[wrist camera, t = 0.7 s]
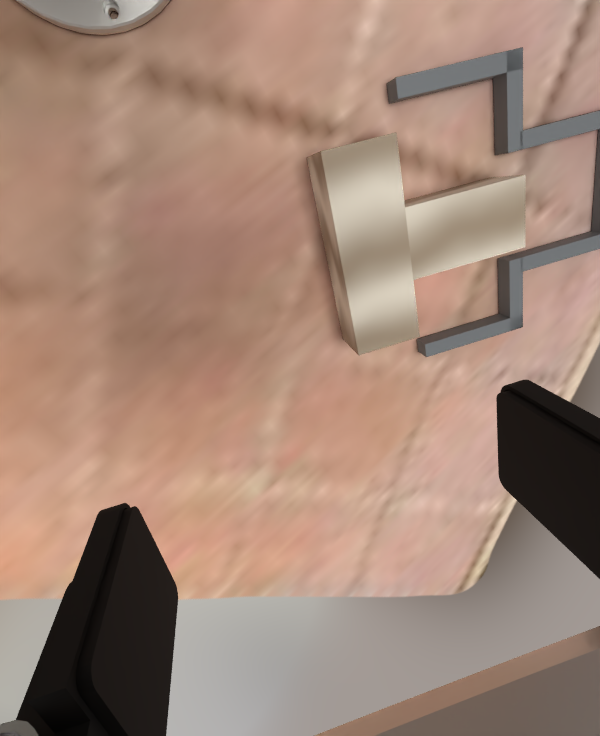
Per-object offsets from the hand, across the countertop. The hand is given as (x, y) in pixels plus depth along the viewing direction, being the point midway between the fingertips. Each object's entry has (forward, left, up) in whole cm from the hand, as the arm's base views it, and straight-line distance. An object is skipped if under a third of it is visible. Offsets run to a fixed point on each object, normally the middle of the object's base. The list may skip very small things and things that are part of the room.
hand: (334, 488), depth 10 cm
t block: (-1, +14, -23) cm, 27 cm away
